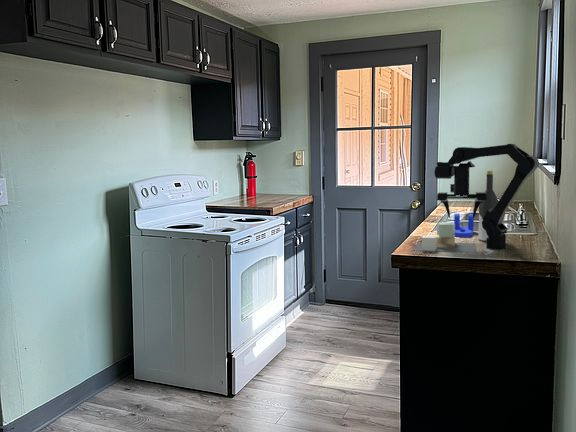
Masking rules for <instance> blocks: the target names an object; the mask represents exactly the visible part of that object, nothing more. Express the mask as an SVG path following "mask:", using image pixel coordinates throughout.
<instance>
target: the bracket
mask: <svg viewBox="0 0 576 432" xmlns="http://www.w3.org/2000/svg"><path fill="white" fill-rule="evenodd" d="M453 215H454V217H453V220H454V221H453V224H455V238H472V237H473V234H474V231H475V230H474V228H475V227H474V226H475V225H474V224H475V223H474V221H475V220H474V219H475V217H474V218H473V213H468V218H467V219H468V220H467V226H464V227H463V226H461V214H460V213H459V212H457V213H454V214H453ZM471 236H472V237H471Z"/></svg>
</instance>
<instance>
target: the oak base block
mask: <svg viewBox="0 0 576 432" xmlns="http://www.w3.org/2000/svg"><path fill="white" fill-rule="evenodd" d="M455 243H456V237H455V235H452V237H439V235H437V234H436V247H443V248H455Z"/></svg>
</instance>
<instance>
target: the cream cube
mask: <svg viewBox="0 0 576 432" xmlns="http://www.w3.org/2000/svg"><path fill="white" fill-rule="evenodd" d="M436 237H437V235H423V236H422V239H421V242H422V251H421V252H426V251H436Z"/></svg>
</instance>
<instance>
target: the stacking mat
mask: <svg viewBox="0 0 576 432" xmlns="http://www.w3.org/2000/svg"><path fill="white" fill-rule="evenodd" d="M437 235H439V223H436V236H437ZM452 235H455V224H454V223H453V225H452ZM413 251H414V252H423V251H422V241H417V242H416V245H415V247H414V250H413ZM425 252H428V253H429V252H430V253H435V252H436V253H459V254H460V253H464V254H465V253H466V254H467V253H468V254H470V253H471V254H477V253H478V250H477V245H476V243H475V242H455V248H443V247H436V251H425Z"/></svg>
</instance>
